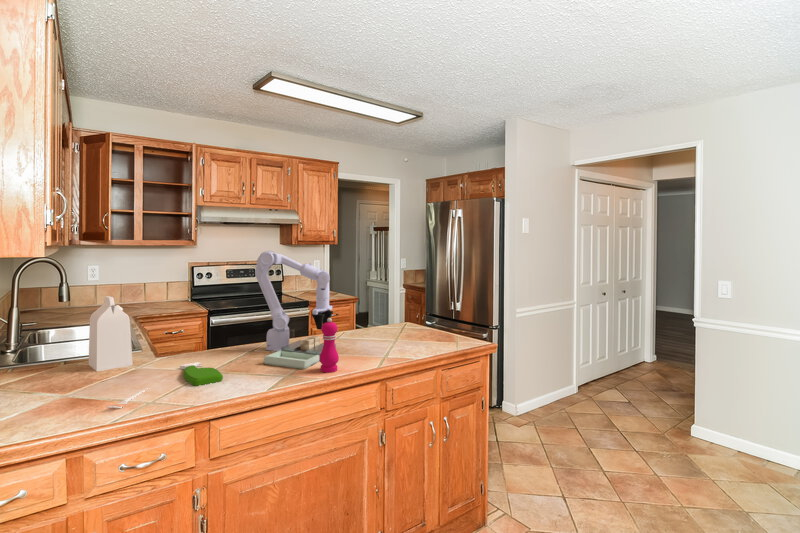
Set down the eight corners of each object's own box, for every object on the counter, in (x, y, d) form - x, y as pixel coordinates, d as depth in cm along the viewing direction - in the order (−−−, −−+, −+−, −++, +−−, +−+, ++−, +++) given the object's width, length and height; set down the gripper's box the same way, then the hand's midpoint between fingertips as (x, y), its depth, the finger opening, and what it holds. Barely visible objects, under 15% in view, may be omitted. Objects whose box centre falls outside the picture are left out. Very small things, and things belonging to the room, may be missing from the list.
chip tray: (264, 364, 172) (264, 356, 172) (281, 356, 182) (281, 349, 182) (304, 369, 166) (304, 361, 166) (319, 361, 177) (319, 353, 177)
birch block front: (300, 349, 184) (300, 339, 183) (305, 347, 187) (305, 337, 187) (309, 350, 182) (309, 340, 182) (313, 348, 186) (313, 338, 186)
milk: (88, 364, 166) (86, 296, 165) (123, 358, 175) (121, 294, 173) (96, 371, 158) (95, 300, 157) (132, 365, 167) (131, 297, 165)
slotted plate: (281, 356, 183) (281, 347, 183) (299, 348, 196) (299, 340, 196) (319, 361, 177) (319, 351, 177) (335, 353, 190) (335, 344, 190)
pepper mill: (342, 370, 166) (343, 318, 165) (327, 374, 160) (327, 320, 159) (330, 366, 171) (331, 315, 169) (315, 370, 165) (315, 317, 164)
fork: (154, 389, 143) (154, 384, 143) (116, 412, 123) (116, 406, 123) (144, 389, 143) (144, 383, 143) (104, 412, 123) (104, 406, 123)
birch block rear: (306, 346, 188) (306, 337, 188) (311, 344, 192) (311, 335, 192) (315, 347, 187) (315, 338, 187) (319, 345, 191) (319, 336, 191)
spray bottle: (192, 388, 144) (172, 371, 163) (226, 381, 151) (203, 366, 170) (192, 379, 144) (172, 363, 162) (225, 373, 151) (203, 358, 170)
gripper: (322, 300, 188) (322, 331, 189) (338, 296, 201) (337, 325, 202) (308, 299, 190) (308, 330, 191) (324, 295, 204) (324, 324, 205)
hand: (322, 328), depth 197 cm, fingers open, 5 cm apart
